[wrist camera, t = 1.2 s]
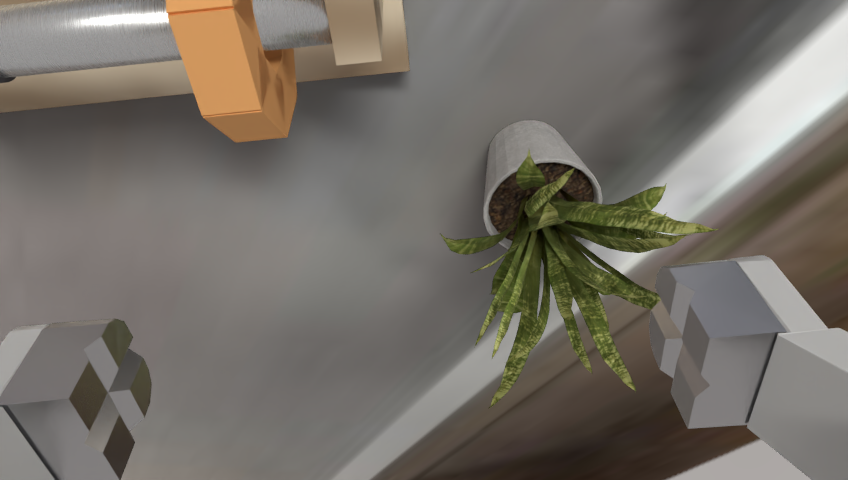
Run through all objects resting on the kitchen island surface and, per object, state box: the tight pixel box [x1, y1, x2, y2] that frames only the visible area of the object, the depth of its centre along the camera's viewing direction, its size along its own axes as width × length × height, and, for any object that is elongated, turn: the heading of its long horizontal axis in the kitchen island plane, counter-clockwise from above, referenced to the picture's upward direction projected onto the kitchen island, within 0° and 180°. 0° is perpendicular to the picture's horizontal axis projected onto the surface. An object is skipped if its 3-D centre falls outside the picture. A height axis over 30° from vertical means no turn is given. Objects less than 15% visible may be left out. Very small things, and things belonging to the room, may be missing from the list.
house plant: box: [441, 120, 717, 408], centre depth 37 cm, size 14×14×16 cm
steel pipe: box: [0, 0, 378, 83], centre depth 28 cm, size 3×26×3 cm, turn 95°
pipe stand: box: [0, 0, 410, 113], centre depth 31 cm, size 12×28×10 cm, turn 95°
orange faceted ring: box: [166, 0, 297, 142], centre depth 28 cm, size 10×2×10 cm, turn 5°
